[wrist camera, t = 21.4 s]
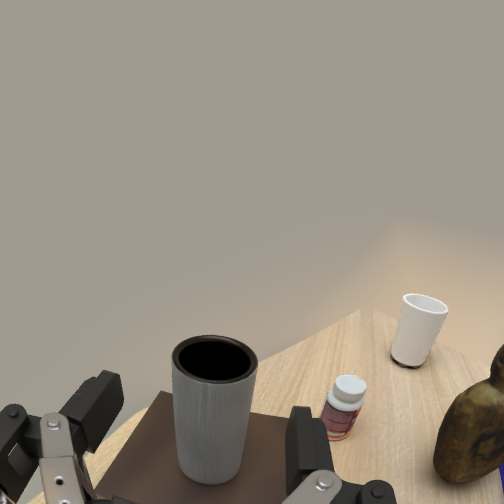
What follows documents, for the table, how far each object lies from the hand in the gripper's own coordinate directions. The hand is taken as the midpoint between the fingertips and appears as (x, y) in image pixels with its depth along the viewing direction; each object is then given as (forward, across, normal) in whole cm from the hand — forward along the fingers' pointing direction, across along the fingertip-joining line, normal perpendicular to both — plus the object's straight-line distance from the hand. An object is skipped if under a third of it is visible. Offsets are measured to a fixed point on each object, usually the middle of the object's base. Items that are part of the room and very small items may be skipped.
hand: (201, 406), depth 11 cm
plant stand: (+3, 0, +20) cm, 20 cm away
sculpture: (+6, -29, +20) cm, 36 cm away
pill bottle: (+17, -14, +20) cm, 30 cm away
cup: (+36, -34, +20) cm, 53 cm away
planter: (+3, 0, +10) cm, 10 cm away
